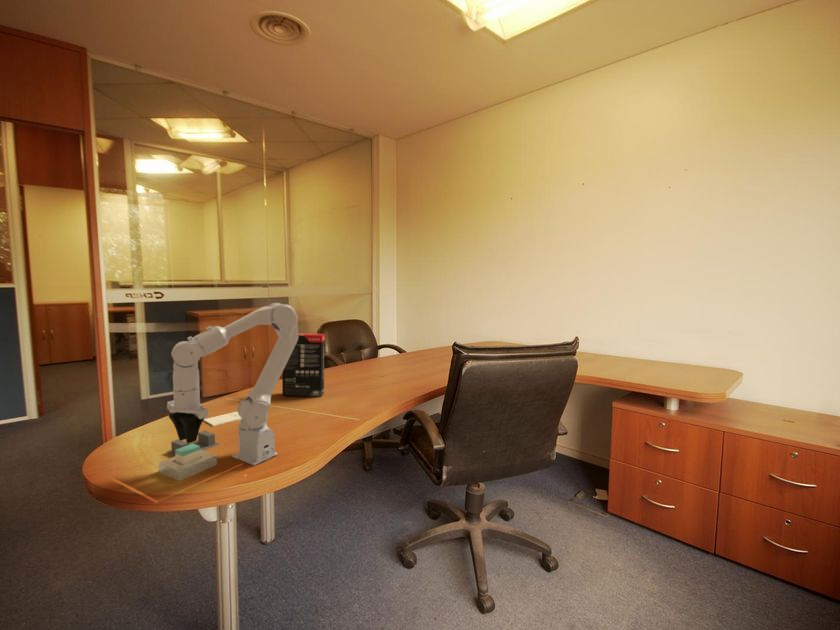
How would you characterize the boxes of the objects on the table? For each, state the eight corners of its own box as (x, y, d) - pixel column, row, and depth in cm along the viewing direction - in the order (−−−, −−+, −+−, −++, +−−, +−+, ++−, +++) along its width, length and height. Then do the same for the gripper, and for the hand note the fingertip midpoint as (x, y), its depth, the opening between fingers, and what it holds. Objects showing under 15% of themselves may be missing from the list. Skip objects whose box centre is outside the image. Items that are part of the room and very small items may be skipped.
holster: (220, 445, 115) (220, 434, 115) (182, 459, 106) (182, 447, 105) (203, 440, 119) (203, 429, 119) (166, 453, 110) (165, 441, 109)
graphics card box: (325, 392, 173) (325, 332, 171) (322, 397, 166) (322, 334, 164) (286, 392, 172) (285, 332, 170) (281, 397, 165) (281, 334, 163)
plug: (200, 468, 101) (200, 446, 101) (183, 475, 97) (182, 452, 97) (193, 465, 103) (192, 443, 102) (175, 472, 99) (175, 449, 98)
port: (217, 466, 103) (216, 455, 102) (178, 482, 94) (178, 470, 94) (197, 458, 107) (197, 448, 106) (159, 473, 98) (158, 462, 98)
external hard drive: (202, 423, 134) (238, 414, 144) (212, 429, 129) (249, 419, 139) (202, 419, 134) (238, 410, 144) (212, 424, 129) (248, 415, 139)
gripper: (154, 388, 98) (155, 439, 100) (187, 397, 92) (189, 452, 93) (182, 382, 105) (183, 430, 106) (215, 390, 98) (216, 442, 99)
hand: (187, 440), depth 100 cm, fingers open, 3 cm apart
